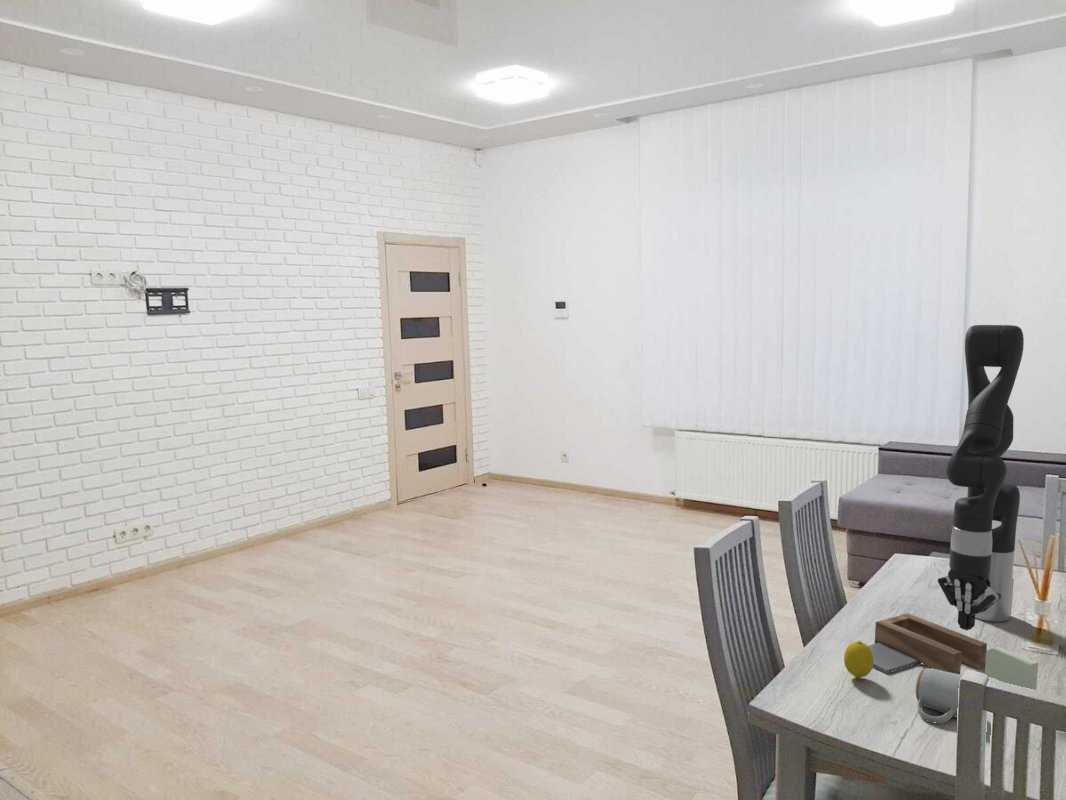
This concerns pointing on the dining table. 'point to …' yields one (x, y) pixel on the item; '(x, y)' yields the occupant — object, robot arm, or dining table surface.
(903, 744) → the dining table surface
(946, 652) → the rail
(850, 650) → the lemon
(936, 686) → the ceramic mug
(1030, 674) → the sage block
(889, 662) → the slate coaster
